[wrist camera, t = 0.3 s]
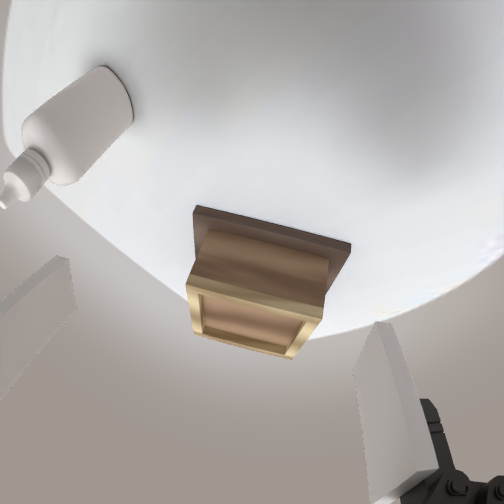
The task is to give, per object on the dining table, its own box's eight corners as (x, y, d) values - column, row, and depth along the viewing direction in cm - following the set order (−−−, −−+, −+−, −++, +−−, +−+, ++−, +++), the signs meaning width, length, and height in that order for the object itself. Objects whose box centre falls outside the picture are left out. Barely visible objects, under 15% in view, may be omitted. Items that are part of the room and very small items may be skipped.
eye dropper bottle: (92, 122, 21) (-2, 226, 14) (88, 62, 17) (-35, 160, 10) (135, 130, 22) (42, 247, 14) (135, 67, 17) (8, 174, 10)
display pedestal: (196, 205, 27) (165, 268, 23) (351, 244, 26) (346, 315, 22) (201, 285, 38) (182, 335, 34) (310, 313, 37) (301, 365, 33)
